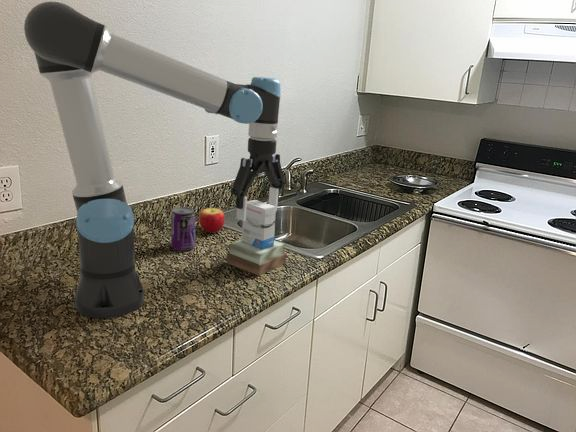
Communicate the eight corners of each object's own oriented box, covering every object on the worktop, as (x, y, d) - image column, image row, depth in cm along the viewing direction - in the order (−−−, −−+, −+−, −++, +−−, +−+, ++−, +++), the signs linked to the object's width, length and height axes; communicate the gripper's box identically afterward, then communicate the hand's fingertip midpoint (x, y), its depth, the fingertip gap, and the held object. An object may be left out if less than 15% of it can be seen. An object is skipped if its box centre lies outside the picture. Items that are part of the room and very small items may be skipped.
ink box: (274, 245, 137) (277, 205, 133) (262, 250, 133) (264, 209, 129) (253, 237, 142) (255, 198, 138) (241, 241, 138) (242, 201, 134)
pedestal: (259, 275, 131) (260, 255, 129) (226, 263, 138) (227, 243, 136) (285, 262, 140) (286, 243, 139) (254, 251, 147) (254, 232, 145)
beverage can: (189, 253, 142) (189, 215, 139) (167, 250, 144) (166, 212, 140) (198, 245, 149) (199, 208, 145) (177, 242, 150) (176, 205, 146)
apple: (220, 226, 166) (221, 198, 163) (227, 235, 159) (227, 206, 156) (196, 228, 163) (196, 199, 160) (202, 237, 156) (202, 207, 152)
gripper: (241, 144, 116) (237, 227, 123) (301, 136, 135) (294, 209, 142) (219, 139, 120) (215, 220, 127) (279, 132, 139) (274, 203, 146)
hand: (257, 214), depth 134 cm, fingers open, 13 cm apart
